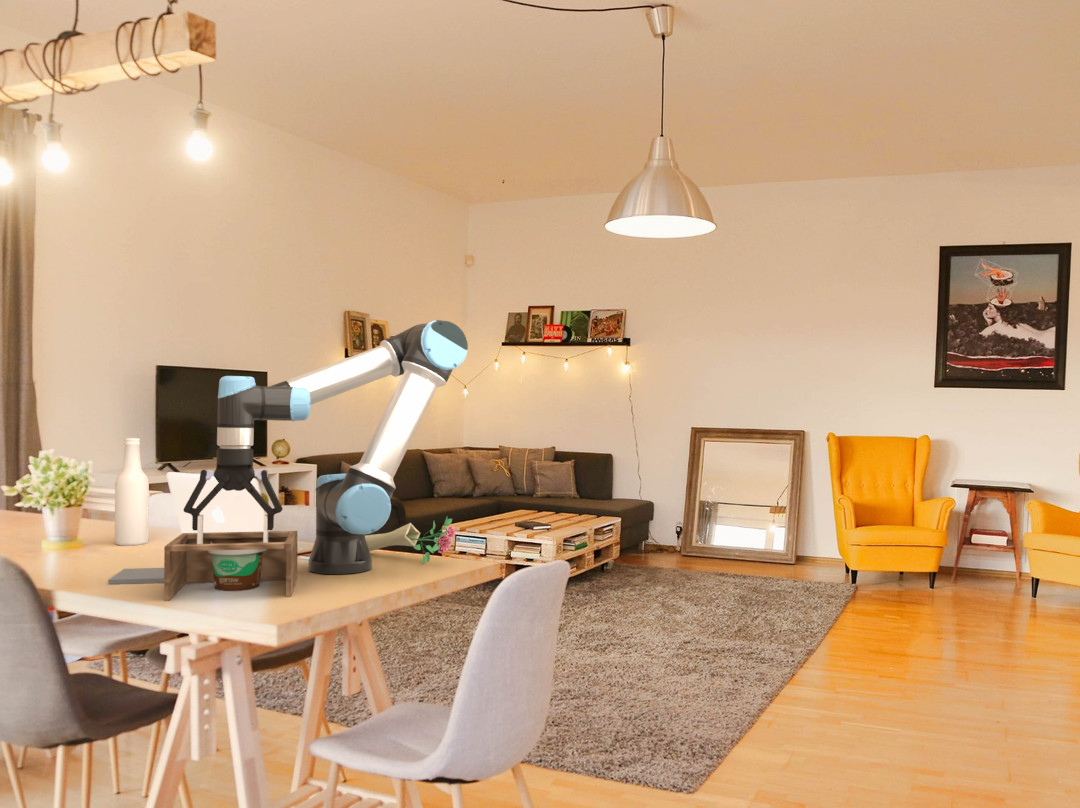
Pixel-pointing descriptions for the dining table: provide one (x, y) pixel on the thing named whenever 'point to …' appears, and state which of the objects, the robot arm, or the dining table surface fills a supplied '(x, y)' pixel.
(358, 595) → the dining table surface
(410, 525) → the flower vase
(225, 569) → the food container
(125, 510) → the alcohol
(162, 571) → the mat
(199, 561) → the access cubby
